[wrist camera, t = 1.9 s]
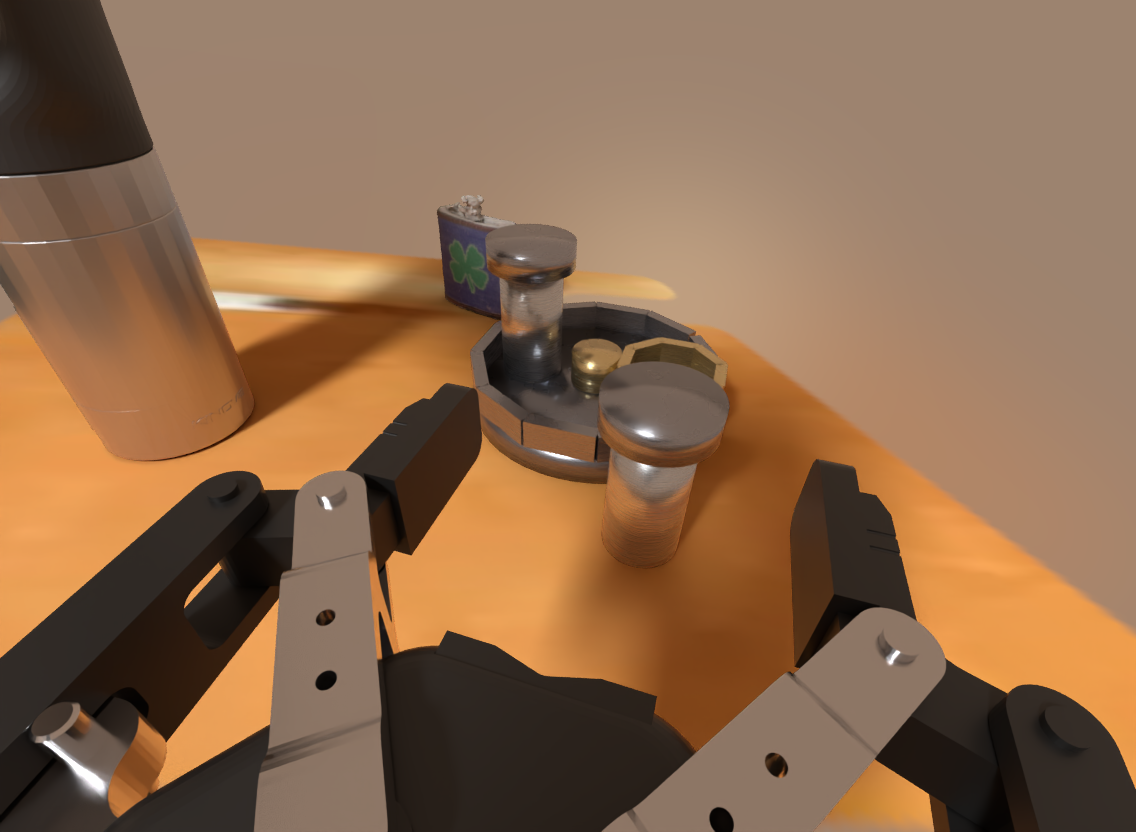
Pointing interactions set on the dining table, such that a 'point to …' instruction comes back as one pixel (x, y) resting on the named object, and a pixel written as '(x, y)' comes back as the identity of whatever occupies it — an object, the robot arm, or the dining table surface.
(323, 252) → the dining table surface
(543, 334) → the carrier
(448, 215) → the flask
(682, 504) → the silver capped cylinder
